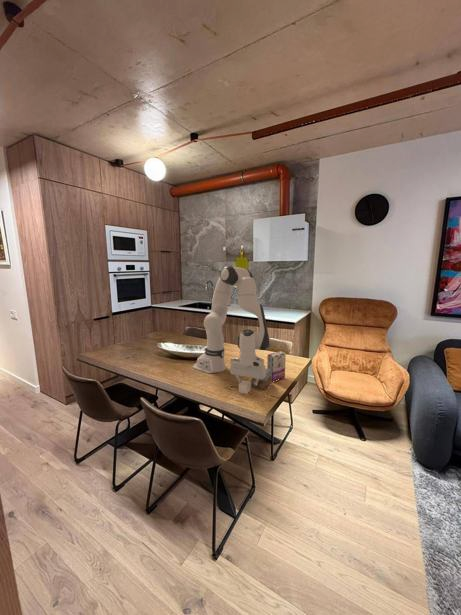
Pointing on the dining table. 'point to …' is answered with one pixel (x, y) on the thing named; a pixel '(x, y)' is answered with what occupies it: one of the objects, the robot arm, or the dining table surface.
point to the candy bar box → (276, 365)
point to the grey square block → (266, 375)
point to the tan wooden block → (262, 383)
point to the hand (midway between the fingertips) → (247, 383)
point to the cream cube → (244, 387)
